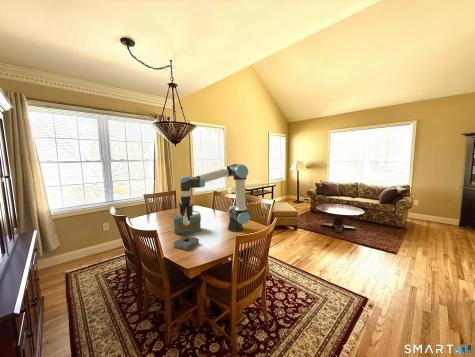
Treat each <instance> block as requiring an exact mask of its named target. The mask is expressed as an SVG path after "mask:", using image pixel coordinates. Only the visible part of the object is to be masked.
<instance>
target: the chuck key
mask: <svg viewBox="0 0 475 357" xmlns="http://www.w3.org/2000/svg"><path fill="white" fill-rule="evenodd" d="M183 213H184V221H185V226H187V211H186V210H185V211H184V212H183Z"/></svg>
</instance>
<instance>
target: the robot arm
mask: <svg viewBox="0 0 475 357" xmlns="http://www.w3.org/2000/svg"><path fill="white" fill-rule="evenodd" d="M248 175H249V168H248V167H247V166H246V165H245V164H242V163H241V164H240V163H233V164H230V165H227V166H224V168H221V169H218V170H215V171H211V172H207V173H204V174H200V175H196V176H192V177H191V176H181V177H180V201H181V202H179V203H178V206H179V212H180V213H179V215H182V216H183V224H185V221H184V213H183V212H184V211H185V210H186V211H187V225H188V224H190V216H192V214H193V212H192V211H193V207H194V204H193V203H191V189H196V188H197V189H199V188H205V186H206V183H207V182H212V181H216V180H218V179H221V178H225V177H227V178H228V177H233V181H234V182H235V203H236V205H231V206H230V207H229V208H228V209H229V210H228V215H229V216H228V218H229V222H228V225H227V230H228V231H229V232H233V231H234V232H235V231H237V232H241V231H243V230H244V224H247V223H248V222H249V221H250V218H251V216H250V213H249V212H248V207H247V206H246V204H247V203H246V180H247V176H248ZM242 229H243V230H242ZM240 230H241V231H240ZM234 232H233V233H234Z"/></svg>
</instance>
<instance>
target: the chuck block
mask: <svg viewBox="0 0 475 357" xmlns="http://www.w3.org/2000/svg"><path fill="white" fill-rule="evenodd" d="M199 243H200V240H199V238H197V237H192V236H189V235H185V236H182V237H181V238H179V239H177V240H175V241H173V247H174V248H177V249H180V250H184V251H189V250H191V249H192V248H193V247H195V246H197V245H198V244H199Z"/></svg>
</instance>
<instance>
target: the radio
mask: <svg viewBox="0 0 475 357" xmlns="http://www.w3.org/2000/svg"><path fill="white" fill-rule="evenodd" d="M193 212H194V213H193ZM178 214H179V215H178ZM201 215H202V214H201V213H200V212H198V211H196V210H192V216H190V224H188V225H187V226H185V224H183V216H182V215H180V211H178V212H176V213H175V214H174V216H173V229H174V231H173V232H174V235H176V234H177V235H178V234H186V233H198V232H202V231H201V230H202V228H201V226H202V225H201V221H202V217H201Z"/></svg>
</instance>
